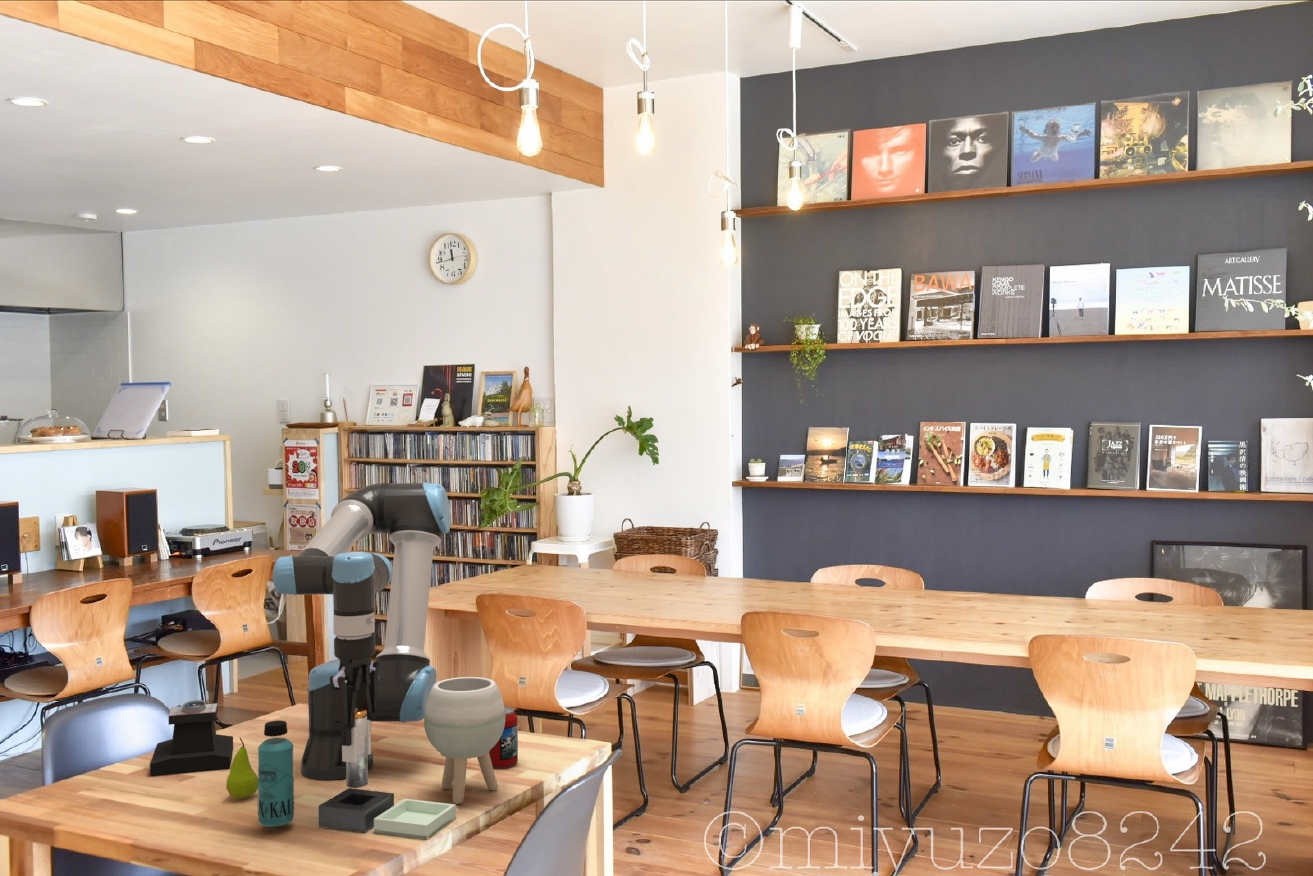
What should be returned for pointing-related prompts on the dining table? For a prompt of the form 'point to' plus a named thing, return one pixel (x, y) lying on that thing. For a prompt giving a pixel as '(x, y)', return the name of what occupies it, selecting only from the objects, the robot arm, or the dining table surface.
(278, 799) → the beverage bottle
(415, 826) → the tray
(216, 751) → the black pedestal stand
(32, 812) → the dining table surface
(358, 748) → the pin
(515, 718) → the beverage can
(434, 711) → the planter
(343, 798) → the collar
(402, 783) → the dining table surface
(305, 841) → the dining table surface
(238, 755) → the fruit
